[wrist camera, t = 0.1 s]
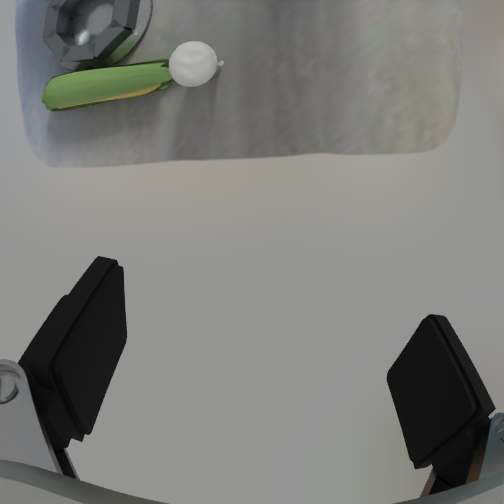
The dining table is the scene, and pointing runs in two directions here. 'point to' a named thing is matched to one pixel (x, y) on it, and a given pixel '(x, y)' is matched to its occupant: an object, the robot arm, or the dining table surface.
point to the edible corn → (105, 84)
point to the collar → (95, 31)
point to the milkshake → (194, 64)
